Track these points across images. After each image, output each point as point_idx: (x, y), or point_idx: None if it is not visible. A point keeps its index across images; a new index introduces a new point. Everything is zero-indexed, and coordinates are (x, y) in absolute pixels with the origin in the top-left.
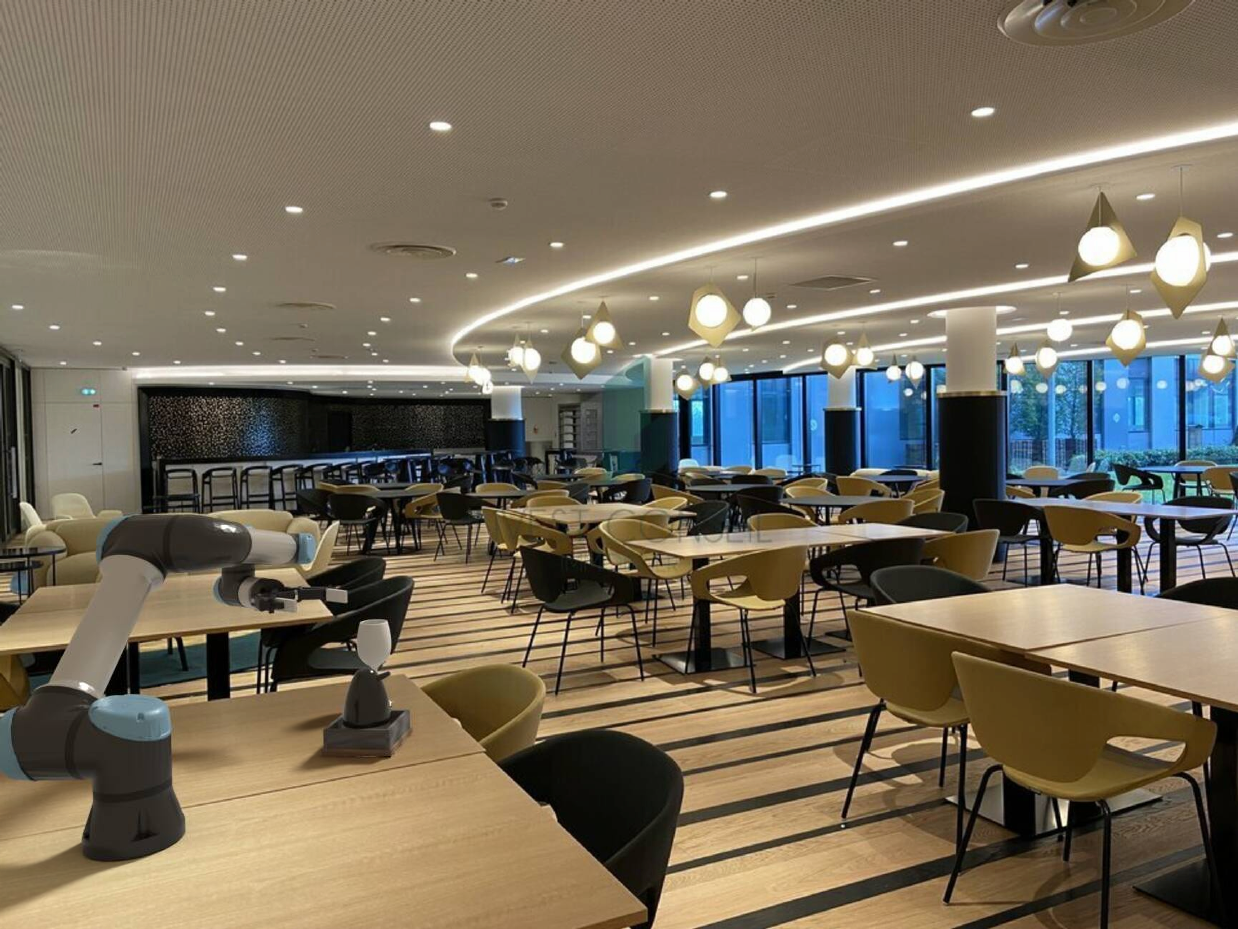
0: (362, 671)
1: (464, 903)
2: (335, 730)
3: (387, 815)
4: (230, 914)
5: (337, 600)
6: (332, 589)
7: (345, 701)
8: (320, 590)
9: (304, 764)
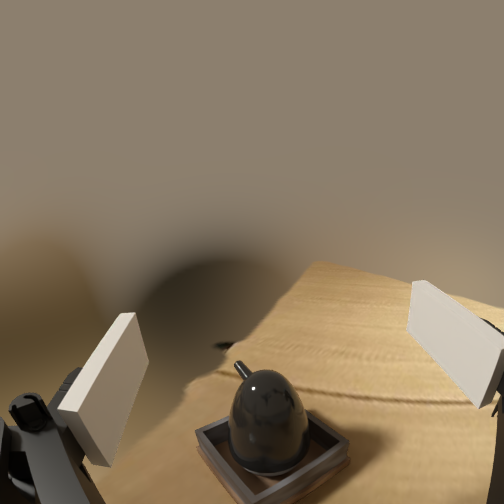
0: (276, 373)
1: (363, 275)
2: (334, 431)
3: (357, 330)
4: (454, 296)
5: (133, 389)
6: (89, 374)
7: (305, 424)
8: (73, 464)
9: (378, 452)
